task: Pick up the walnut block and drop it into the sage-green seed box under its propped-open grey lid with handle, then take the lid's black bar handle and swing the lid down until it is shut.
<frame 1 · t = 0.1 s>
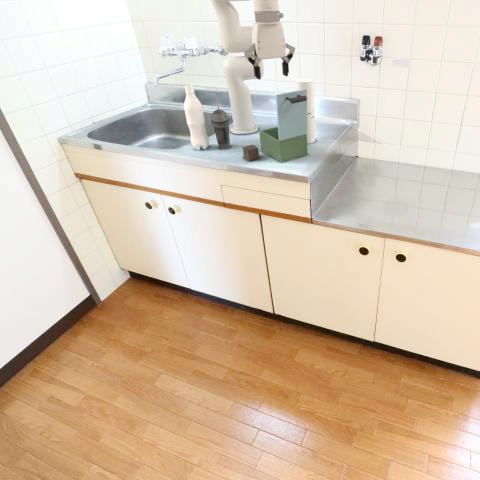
hand: (272, 77, 125), 31 cm above the worktop, tool pointing down, fingers open, 9 cm apart
beverage cup: (224, 147, 159), on the worktop
cylindrical container: (306, 141, 164), on the worktop
grey lid with handle: (296, 116, 136), point 17 cm above the worktop, hinge at 92.0°
seed box: (284, 152, 153), on the worktop
block: (251, 158, 148), on the worktop
water bottle: (201, 148, 158), on the worktop
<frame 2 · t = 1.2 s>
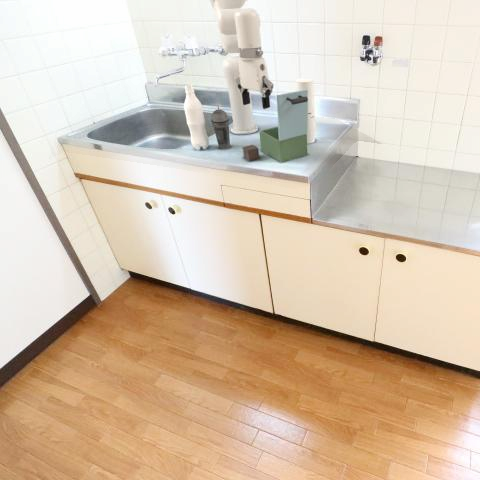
hand: (256, 106, 134), 21 cm above the worktop, tool pointing down, fingers open, 9 cm apart
grey lid with handle: (296, 117, 136), point 17 cm above the worktop, hinge at 94.4°
everything else where it was.
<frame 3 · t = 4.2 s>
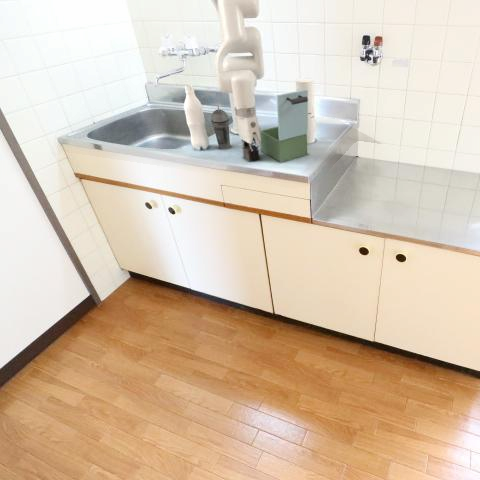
hand: (251, 157, 148), 0 cm above the worktop, tool pointing down, fingers closed on block, 4 cm apart
block: (251, 158, 148), on the worktop, touching gripper
everything else where it was.
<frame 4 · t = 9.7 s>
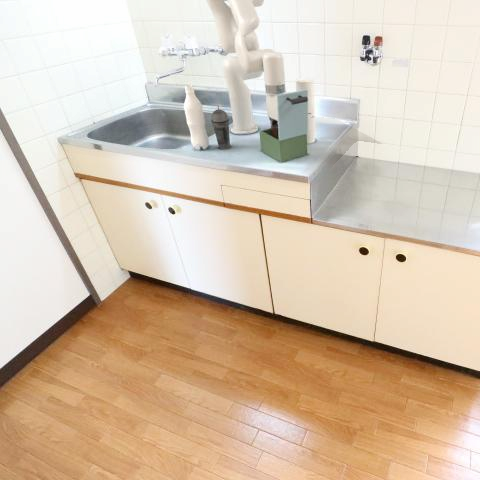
hand: (279, 135, 151), 6 cm above the worktop, tool pointing down, fingers closed on block, 4 cm apart
block: (279, 136, 151), point 6 cm above the worktop, touching gripper
everything else where it was.
when the fingers open (9 cm above the worktop, at t = 24.3 s): block drops 8 cm, resting on seed box.
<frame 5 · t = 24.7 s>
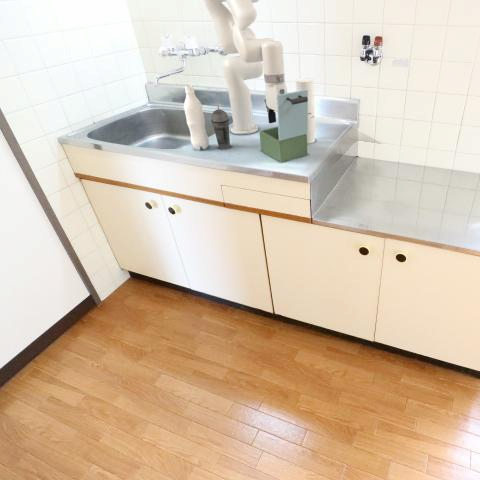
hand: (278, 125, 149), 11 cm above the worktop, tool pointing down, fingers open, 8 cm apart
block: (280, 148, 154), point 1 cm above the worktop, touching seed box
everything else where it was.
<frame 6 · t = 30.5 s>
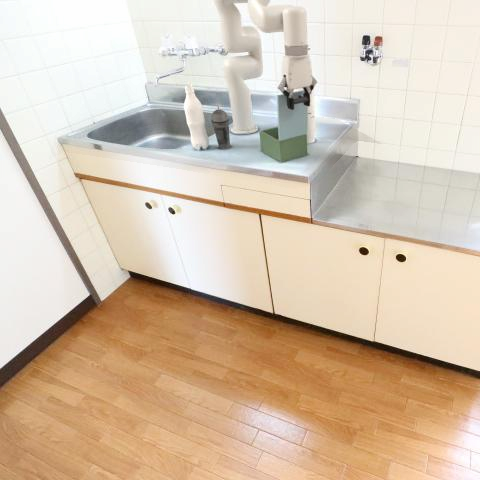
hand: (298, 106, 132), 21 cm above the worktop, tool pointing down, fingers closed on grey lid with handle, 6 cm apart
grey lid with handle: (296, 117, 136), point 17 cm above the worktop, hinge at 94.4°, touching gripper
everything else where it was.
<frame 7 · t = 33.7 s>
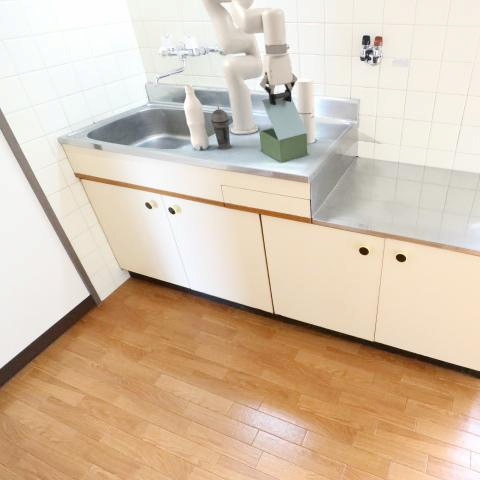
hand: (280, 102, 141), 20 cm above the worktop, tool pointing down, fingers closed on grey lid with handle, 6 cm apart
grey lid with handle: (286, 114, 140), point 16 cm above the worktop, hinge at 48.5°, touching gripper
everything else where it was.
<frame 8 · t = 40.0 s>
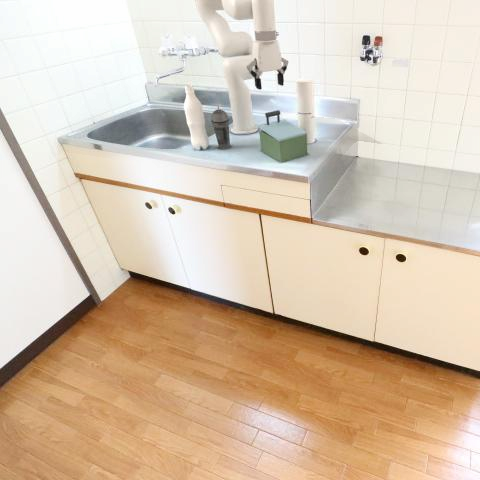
hand: (270, 86, 143), 24 cm above the worktop, tool pointing down, fingers open, 9 cm apart
grey lid with handle: (281, 123, 146), point 12 cm above the worktop, hinge at 4.4°
everything else where it was.
at the end: block inside the target area in the seed box (3.0 cm from its centre), point 0.8 cm above the seed box's base; grey lid with handle at +4° (first picture: +92°) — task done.
